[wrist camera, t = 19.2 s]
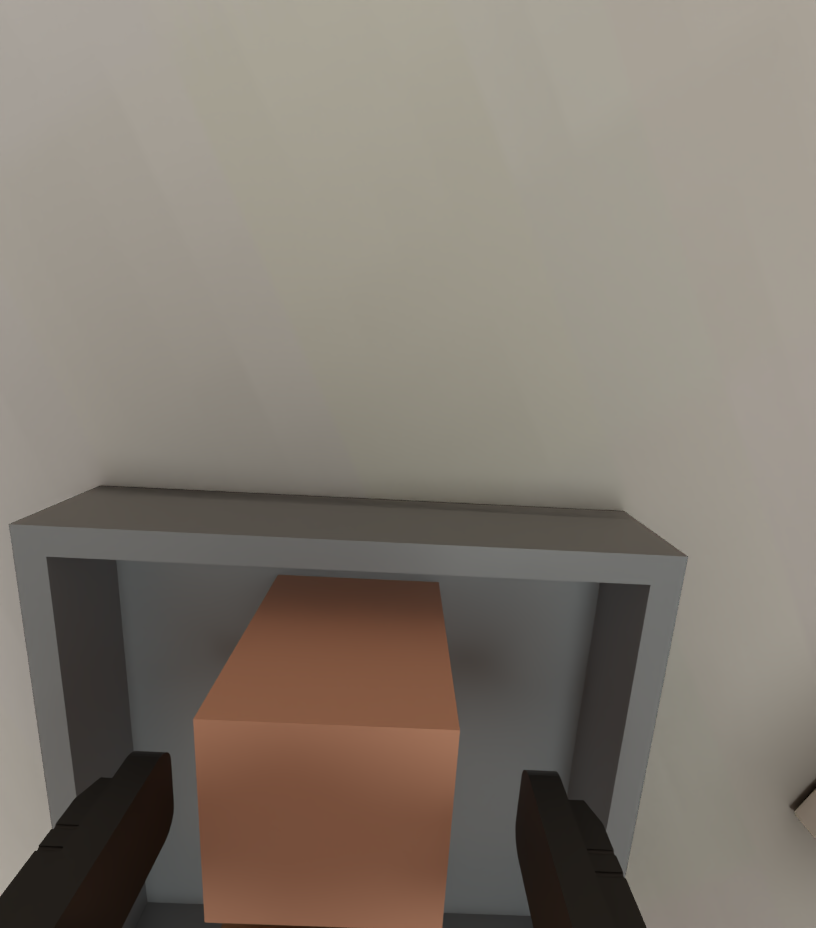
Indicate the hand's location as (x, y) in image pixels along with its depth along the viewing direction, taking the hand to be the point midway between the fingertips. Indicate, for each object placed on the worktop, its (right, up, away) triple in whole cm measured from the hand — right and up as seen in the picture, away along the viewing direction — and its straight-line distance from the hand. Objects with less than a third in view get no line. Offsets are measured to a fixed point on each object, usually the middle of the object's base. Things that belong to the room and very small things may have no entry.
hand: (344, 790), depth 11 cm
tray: (0, -2, +6) cm, 6 cm away
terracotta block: (0, +1, +5) cm, 5 cm away
